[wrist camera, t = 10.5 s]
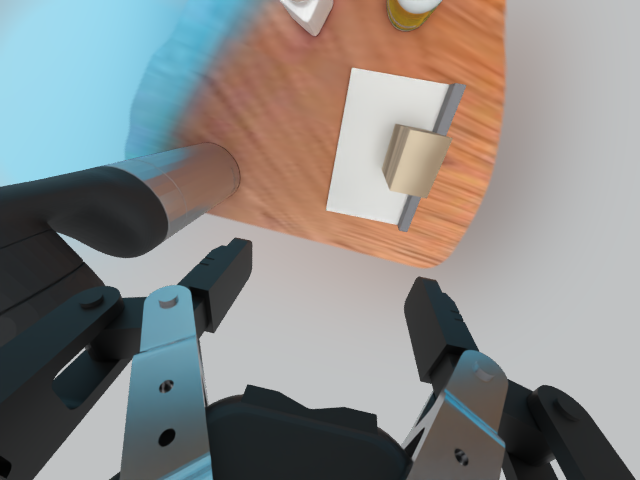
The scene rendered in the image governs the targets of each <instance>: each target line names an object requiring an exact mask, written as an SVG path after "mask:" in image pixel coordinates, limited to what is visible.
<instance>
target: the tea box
mask: <svg viewBox="0 0 640 480" xmlns="http://www.w3.org/2000/svg"><path fill="white" fill-rule="evenodd" d="M452 139H453V138H450V137H447V136H444V135H441V134H438V133H435V132H432V131H428V130H425V129H420V128H415V127H410V126H405V125H400V124H395V127H394V130H393V133H392V136H391V140H390V143H389V146H388V150H387V153H386V156H385V160H384V163H383V166H382V172H383V174H384V177H385V180H386V182H387V185H388V187H389V190H390V191H394V192H399V193H403V194H408V195H413V196H418V197H422V198H427V197H428V194H429V192H430V190H431V187H432V185H433V183H434V181H435V178H436V176H437V174H438V171H439V169H440V167H441V164H442V162H443V160H444V157H445V155H446V153H447V150H448V148H449V146H450V143H451V141H452Z"/></svg>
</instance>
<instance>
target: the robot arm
mask: <svg viewBox="0 0 640 480" xmlns="http://www.w3.org/2000/svg"><path fill="white" fill-rule="evenodd" d="M239 182H240V174H239V169H238V166H237V164H236V162H235V160H234V159H233V157H232V156H231V155H230V154H229V153H228V152H227V151H226V150H225V149H223V148H222V147H220V146H218V145H216V144H212V143H201V144H196V145H192V146H187V147H183V148H178V149H174V150H169V151H165V152H161V153H156V154H152V155H147V156H143V157H139V158H134V159H130V160H125V161H122V162H117V163H113V164H108V165H104V166H100V167H95V168H90V169H86V170H82V171H77V172H73V173H68V174H63V175H59V176H54V177H49V178H46V179H40V180H35V181H31V182H24V183H19V184H14V185H8V186H3V187H0V480H33V479H34V477H35V476H36V475H37V474H38V473H39V471H40V470H41V469H42V468H43V467H44V465H45V464H46V463H47V461H48V460H49V459H50V458H51V457H52V456H53V454H54V453H55V452H56V451H57V449H58V448H59V447H60V446H61V445H62V443H63V442H64V441H65V440H66V438H67V437H68V436H69V435H70V434H71V432H72V431H73V430H74V429H75V428H76V426H77V425H78V424H79V423H80V422H81V420H82V419H83V418H84V417H85V415H86V414H87V413H88V412H89V410H90V409H91V408H92V407H93V406H94V404H95V403H96V402H97V401H98V400H99V398H100V397H101V396H102V395H103V394H104V392H105V391H106V390H107V389H108V387H109V386H110V385H111V384H112V383H113V381H114V380H115V379H116V378H117V377H118V375H119V374H120V373H121V371H122V370H123V369H124V368H125V367H126V366H127V364H128V363H129V362H130V361H131V360H132V358H133V360H132V368H131V377H130V386H129V396H128V405H127V414H126V424H125V433H124V442H123V451H122V461H121V471H120V472H119V473H117V474H116V475H115V476H113V477H112V478H111V479H109V480H499V478H500V473H501V468H502V469H503V472H504V474H505V477H506V480H558V478H557V477H556V474H555V472H554V470H553V468H552V466H551V464H550V461H552V460H554V459H556V460H557V462H558V464H559V466H560V467H561V469H562V471H563V473H564V475H565V477H566V479H567V480H636V479H635V478H634V476H633V475H632V474H631V472H630V471H629V470H628V468H627V467H626V465H625V464H624V462H623V461H622V460H621V458H620V457H619V455H618V454H617V453H616V451H615V450H614V448H613V447H612V446H611V444H610V443H609V441H608V440H607V439H606V437H605V436H604V434H603V433H602V432H601V430H600V429H599V427H598V426H597V425H596V423H595V422H594V420H593V419H592V418H591V416H590V415H589V414H588V413H587V411H586V410H585V409H584V408H583V407H582V406H581V405H580V404H579V403H578V402H576V401H575V400H574V399H573V398H572V397H570V396H569V395H567V394H566V393H564V392H563V391H561V390H559V389H557V388H555V387H552V386H548V385H542V386H540V387H539V388H537V389H536V390H535V391H534V392H533V391H531V390H529V389H527V388H525V387H523V386H521V385H519V384H517V383H515V382H513V381H511V380H509V379H507V377H506V375H505V373H504V372H503V370H502V369H501V368H500V367H499V365H498V364H497V363H496V362H495V361H493V360H492V359H491V358H490V357H488V356H486V355H485V354H483V353H481V352H479V350H478V348H477V346H476V344H475V342H474V340H473V338H472V336H471V334H470V332H469V330H468V328H467V326H466V324H465V322H463V318H462V316H461V314H459V310H458V308H457V306H456V304H455V302H454V301H453V300H452V299H451V298H450V297H449V296H448V295H447V294H446V293H442V291H441V289H440V287H439V285H438V282H437V281H436V280H433V279H428V278H423V277H418V278H416V280H415V282H414V284H413V286H412V288H411V290H410V292H409V294H408V297H407V299H406V301H405V305H404V313H405V318H406V322H407V326H408V330H409V334H410V338H411V343H412V347H413V351H414V355H415V360H416V364H417V368H418V372H419V377H420V381H422V382H426V383H430V384H432V386H433V391H432V393H431V394H430V396H429V398H428V400H427V402H426V403H425V405H424V407H423V409H422V411H421V413H420V414H419V416H418V418H417V420H416V422H415V424H414V426H413V427H412V429H411V431H410V433H409V434H408V436H407V437H406V439H405V441H404V442H403V443H402V445H401V446H400V445H399V444H398V443H397V442H396V441H395V440H394V439H393V438H392V437H391V436H390V435H389V434H387V433H386V432H385V431H383V430H382V429H381V428H378V427H377V416H376V415H375V414H371V413H367V412H363V411H358V410H354V409H350V408H346V407H339V408H324V409H308V408H306V407H304V406H303V405H301V404H299V403H298V402H296V401H294V400H292V399H291V398H289V397H287V396H285V395H284V394H282V393H280V392H278V391H274V390H269V389H265V388H261V387H257V386H253V385H247V387H246V389H245V392H244V394H242V395H235V396H230V397H227V398H224V399H221V400H219V401H217V402H214V403H212V404H211V405H209V404H208V398H207V391H206V385H205V378H204V371H203V363H202V356H201V348H200V341H199V338H200V337H201V335H202V334H203V332H204V331H206V332H211V333H214V332H215V331H216V329H217V328H218V326H219V324H220V323H221V321H222V320H223V318H224V317H225V315H226V313H227V311H228V310H229V309H230V307H231V306H232V304H233V302H234V301H235V299H236V297H237V296H238V295H239V293H240V291H241V290H242V288H243V287H244V285H245V283H246V282H247V280H248V279H249V277H250V274H251V270H252V242H251V241H250V240H245V239H240V238H234V239H233V240H232V241H231V242H230V243H229V244H228V245H227V246H220V247H218V248H216V249H214V250H212V251H211V252H210V253H209V254H208V255H207V256H206V257H205V258H204V259H203V260H202V261H201V262H200V263H199V264H198V265H197V266H195V267H194V268H193V269H192V271H190V272H189V273H188V274H187V275H186V276H185V277H184V278H183V279H182V280H181V281H180V282H179V283H178V284H177V285H171V286H166V287H162V288H160V289H158V290H156V291H154V292H152V293H151V294H150V295H149V296H148V297H135V298H122V297H121V294H120V292H119V290H118V289H116V288H114V287H110V286H105V285H104V283H103V281H102V280H101V279H100V278H99V277H98V276H97V275H96V274H95V273H94V272H93V270H92V269H91V268H90V267H89V266H88V265H87V264H86V263H85V262H83V260H82V258H80V257H79V255H78V254H77V253H76V252H75V251H74V250H73V249H72V248H71V247H70V246H69V245H68V244H67V243H66V242H65V241H64V240H63V239H62V238H61V237H60V236H59V235H58V234H57V233H56V232H58V233H61V234H64V235H67V236H69V237H72V238H74V239H76V240H78V241H80V242H82V243H84V244H86V245H87V246H90V247H91V248H93V249H95V250H97V251H100V252H102V253H105V254H107V255H111V256H114V257H121V258H133V257H138V256H141V255H143V254H145V253H147V252H149V251H151V250H152V249H154V248H155V247H156V246H158V245H159V244H161V243H162V242H163V241H165V240H166V239H168V238H169V237H171V236H172V235H174V234H175V233H177V232H178V231H179V230H181V229H182V228H184V227H185V226H187V225H188V224H190V223H191V222H192V221H194V220H195V219H197V218H198V217H200V216H201V215H203V214H204V213H206V212H207V211H209V210H210V209H212V208H213V207H215V206H216V205H217V204H219V203H220V202H222V201H223V200H225V199H226V198H228V197H229V196H231V195H232V194H233V193H234V192H235V191H236V190H237V188H238V186H239ZM84 347H85V349H86V350H85V351H84V352H83V353H82V354H80V355H79V356H78V358H76V359H75V360H74V361H73V362H72V363H71V364H70V365H69V366H68V367H67V368H66V369H65V370H64V371H63V372H62V373H61V374H60V375H58V376H57V377H56V378H55V376H56V375H57V373H58V372H59V371H60V370H61V369H62V368H63V367H64V366H65V365H66V364H67V363H68V362H70V361H71V359H73V358H74V357H75V356H76V355H77V354H78V353H79V352H80V351H81V350H82V349H83V348H84ZM54 378H55V379H54Z"/></svg>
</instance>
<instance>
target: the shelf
mask: <svg viewBox="0 0 640 480" xmlns="http://www.w3.org/2000/svg"><path fill="white" fill-rule="evenodd" d="M465 87H466V85H463V84H457V83H454V84H450V85H448V84H442V83H437V82H431V81H425V80H420V79H414V78H408V77H403V76H397V75H391V74H386V73H380V72H374V71H368V70H363V69H357V68H352V71H351V77H350V82H349V88H348V93H347V98H346V104H345V109H344V115H343V120H342V125H341V131H340V136H339V142H338V147H337V153H336V158H335V163H334V169H333V174H332V180H331V185H330V191H329V196H328V201H327V207H326V210H327V211H332V212H337V213H342V214H347V215H352V216H357V217H362V218H366V219H371V220H376V221H381V222H386V223H391V224H396V225H398V228H399V231H404V232H407V231H408V228H409V226H410V224H411V221H412V219H413V216H414V214H415V211H416V209H417V206H418V204H419V201H420V199H421V197H418V196H413V195H408V194H403V193H399V192H394V191H390V190H389V187H388V185H387V182H386V180H385V177H384V174H383V172H382V166H383V163H384V160H385V156H386V153H387V150H388V146H389V143H390V140H391V136H392V133H393V130H394V127H395V124H400V125H405V126H410V127H415V128H420V129H425V130H428V131H432V132H435V133H438V134H441V135H444V136H446V134H447V132H448V129H449V127H450V125H451V122H452V120H453V117H454V115H455V112H456V110H457V107H458V105H459V102H460V100H461V97H462V95H463V92H464V90H465Z"/></svg>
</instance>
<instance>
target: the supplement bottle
mask: <svg viewBox="0 0 640 480" xmlns="http://www.w3.org/2000/svg"><path fill="white" fill-rule="evenodd" d="M441 1H442V0H387V13H388V17H389V19H390V21H391V23H392V25H393V26H394V27H395V28H397V29H398V30H401V31H411V30H414V29H416V28H418V27H419V26H421V25H422V24H423V23H424V22H425V21H426V20H427V19H428V18H429V16H430V15H431V14H432V13H433V11H434V10H435V9H436V8H437V6H438V5H439V4H440V3H441Z"/></svg>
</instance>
